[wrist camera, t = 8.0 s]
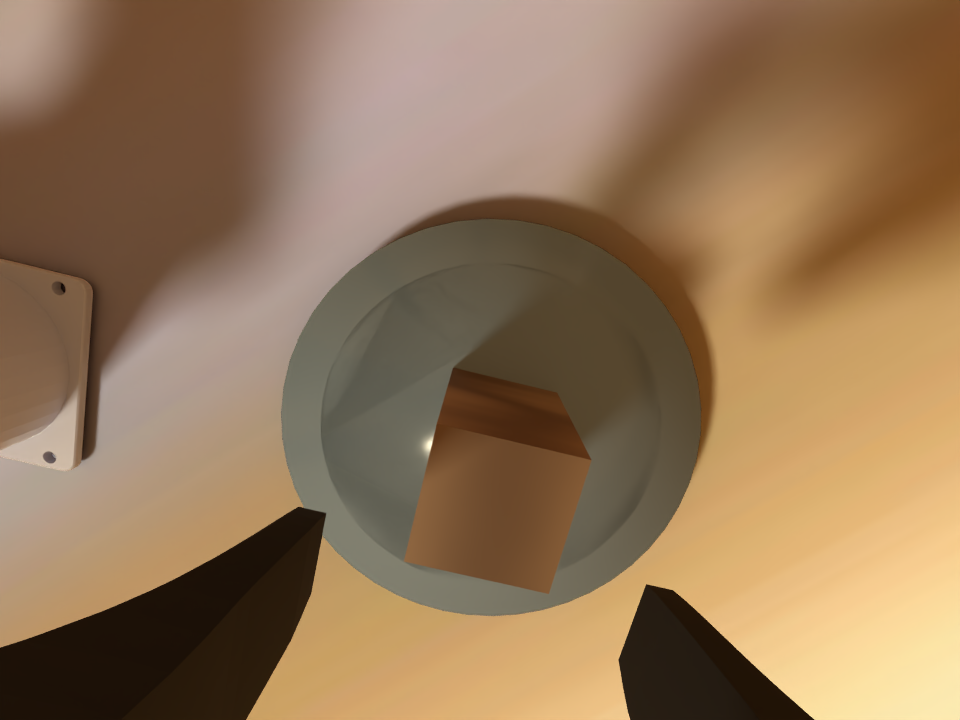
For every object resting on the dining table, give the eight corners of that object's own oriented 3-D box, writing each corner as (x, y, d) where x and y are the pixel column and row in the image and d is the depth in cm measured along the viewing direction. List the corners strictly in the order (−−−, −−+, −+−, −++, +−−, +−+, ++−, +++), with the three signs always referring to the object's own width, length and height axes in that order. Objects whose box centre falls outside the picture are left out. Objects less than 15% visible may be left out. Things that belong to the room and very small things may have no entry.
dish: (266, 551, 21) (253, 568, 20) (331, 172, 17) (319, 167, 16) (618, 629, 22) (626, 651, 20) (746, 280, 18) (765, 281, 17)
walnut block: (429, 464, 19) (403, 561, 13) (453, 367, 18) (436, 423, 12) (529, 487, 19) (548, 594, 13) (557, 392, 18) (591, 460, 12)
